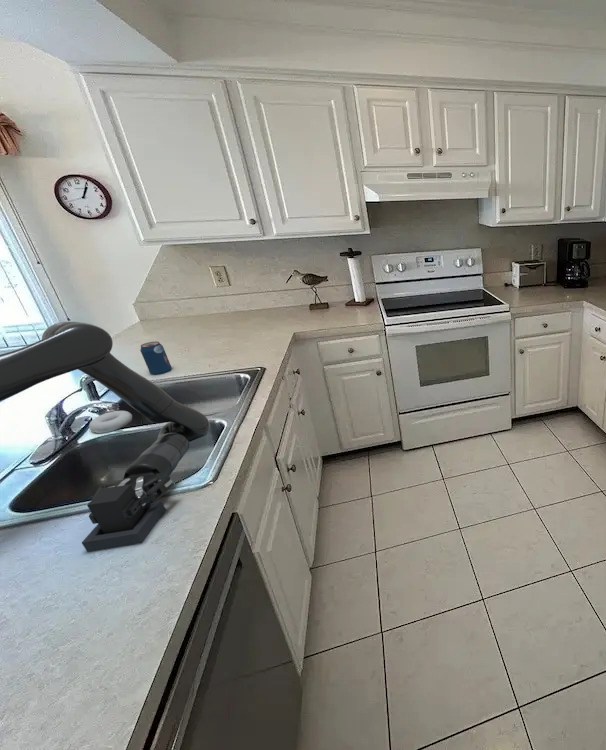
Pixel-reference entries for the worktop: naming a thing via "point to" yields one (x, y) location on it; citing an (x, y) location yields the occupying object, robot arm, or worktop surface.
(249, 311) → the worktop surface
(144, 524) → the dark square frame
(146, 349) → the soda can
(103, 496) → the dark matte cube
